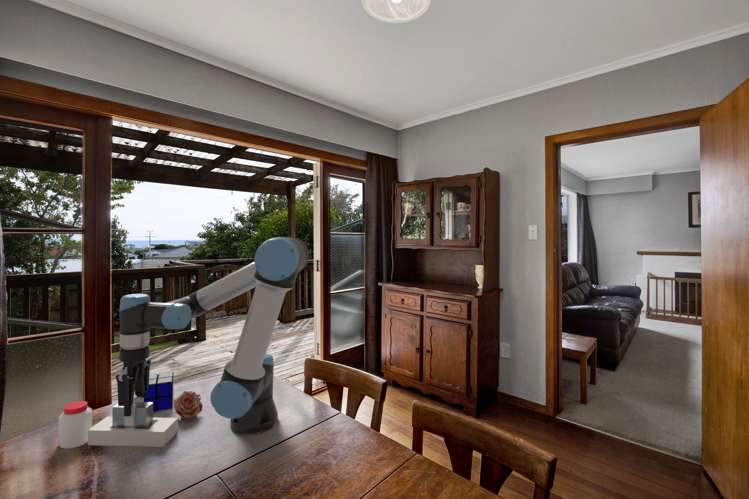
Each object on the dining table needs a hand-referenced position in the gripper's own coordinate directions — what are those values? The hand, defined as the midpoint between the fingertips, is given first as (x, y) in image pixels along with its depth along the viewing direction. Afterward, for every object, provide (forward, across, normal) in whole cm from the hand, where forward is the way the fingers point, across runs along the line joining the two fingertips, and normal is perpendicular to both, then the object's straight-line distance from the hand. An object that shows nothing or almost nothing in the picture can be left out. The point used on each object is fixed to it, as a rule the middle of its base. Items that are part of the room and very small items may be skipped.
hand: (134, 421), depth 112 cm
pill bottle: (+6, +2, -16) cm, 17 cm away
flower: (+5, -13, +10) cm, 17 cm away
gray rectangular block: (+5, 0, 0) cm, 5 cm away
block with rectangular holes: (+5, 0, 0) cm, 5 cm away
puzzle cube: (+6, -21, -5) cm, 22 cm away
